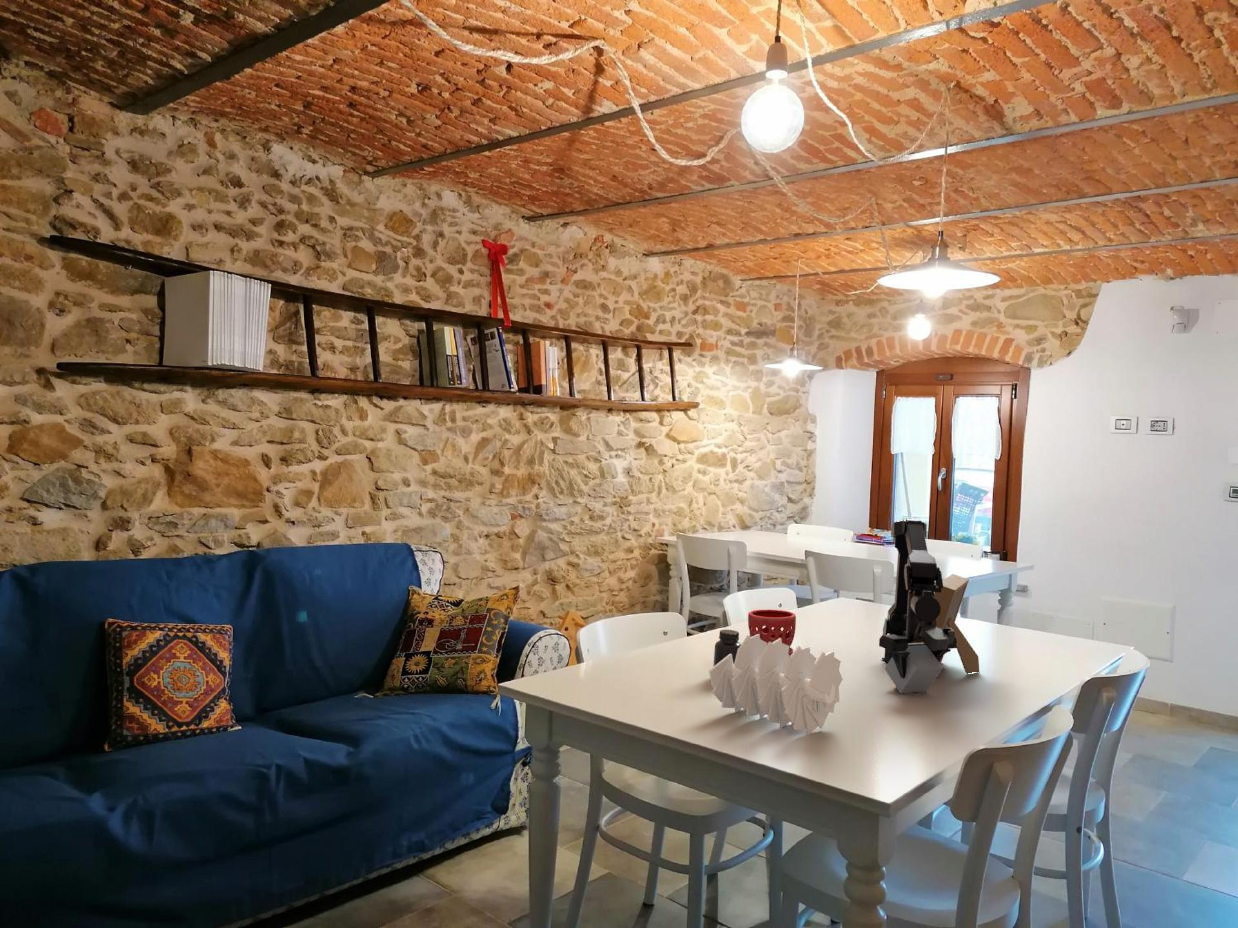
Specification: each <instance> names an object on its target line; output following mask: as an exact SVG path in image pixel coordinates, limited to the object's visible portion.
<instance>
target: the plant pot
mask: <svg viewBox="0 0 1238 928" xmlns="http://www.w3.org/2000/svg"><path fill="white" fill-rule="evenodd" d="M747 614H748V615H747V616H748V617H747V623H748V624H747V626H748V631H749V636H750V637H752V636H754V635H757V634H760V639H761V640H763V641H764V642H766V643H767V645H768V643H769V642H771V643H773V642H774V641H776V640H778V639H779V638H781V639H782V643H783V644H785V645H788V646H789V651H788V654H789V656H790V657H791V655H792V654H793V653H794V649H793V648H792V647H791V646H792V644H793V641H794V638H795V634H796V628H797V627H796V626H797V625H796V624H797V616H796V614H795V613H794V612H791V611H789V610H788V611H787V610H781V609H780V610H779V609H755V610H751V611H749V612H748V613H747Z"/></svg>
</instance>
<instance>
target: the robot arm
mask: <svg viewBox="0 0 1238 928" xmlns="http://www.w3.org/2000/svg"><path fill="white" fill-rule="evenodd" d="M927 529H928V528H927V523H926V522H925V521H924V520H921V519H917V518H916V519H915V518H914V519H913V518H905V519H903V520H896V521H894V522H893V523H892V524H891V527H890V535H891V538H892V542H893V544H894V547H895V548H896V550H897V562H896V563H897V565H896V578H895V589H894V590H895V591H894V603H893V604H892V605H891V606H890V607H889V609H888V611H887V617H885V619H884V623H883V627H882V635H881V636H880V637H879V638H878V639H879V640H878V641H879V642H878V646H879V647H880V648H883V649H884V657H881V660H882V661H884V662H887V663H888V662H889V661H890V659H891V658H893V660H894V662H895V665H896V667H897V670H898V672H899V675H900V677H901V678H903V679H904V678H905V674H906V659H907V656H908V655H909V654H910V652H908V651H906V649H907V648H908V646H918V645H926V646H927V647H928V648H929V649H930V650H931V652H932V653H933V654H934V656H935V657H936V659H937V660H938V662H939V661H940V659H941V657H942V656H943V655H944V656H945V654H947V653H950V652H951V651H952V649H957V639H956V638H955V631H954V630H953V629H952V628H944V629H942V628H941V629H939V628H938V627H937V625H936V623H937V622H936V618H937V617H938V616H939V614H940V611H941V607H940V604H939V602H938V601H937V600H936V599H935V598H934V594H935V592H940V593H941V589H942V588H943V576H942V571H941V570H940V569H941V568H940V566H938V564H937V561H936V558H935V557H934V556H933V555H931V554H930V553H929V550H928V547H927V546H928V545H927V541H926V539H927V533H928V532H927ZM936 587H937V588H936ZM921 641H922V642H921ZM944 656H943V657H944Z"/></svg>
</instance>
